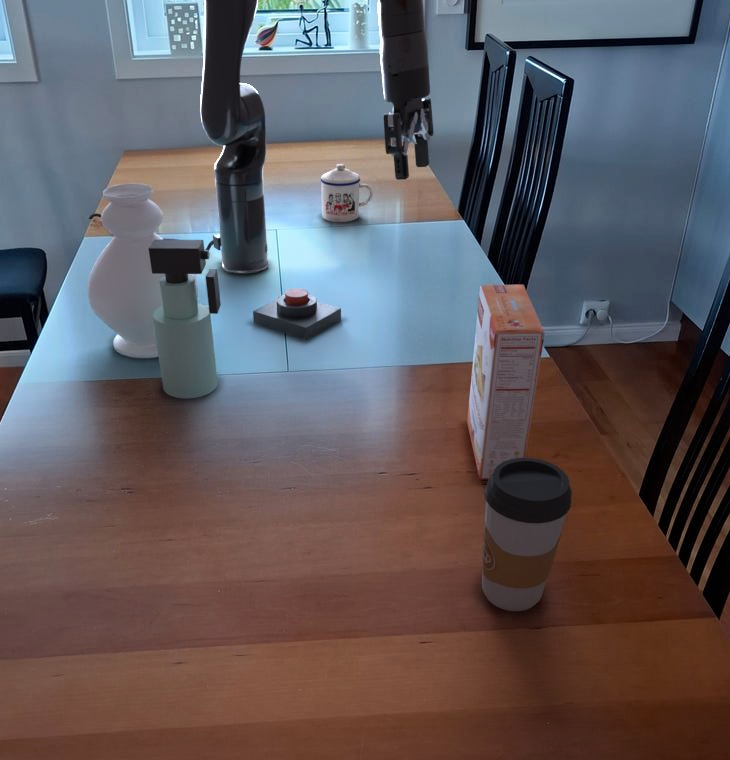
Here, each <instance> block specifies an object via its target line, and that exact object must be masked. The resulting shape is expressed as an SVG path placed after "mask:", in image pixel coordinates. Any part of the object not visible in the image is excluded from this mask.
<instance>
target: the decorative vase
mask: <svg viewBox="0 0 730 760" xmlns="http://www.w3.org/2000/svg"><path fill="white" fill-rule="evenodd" d="M102 196H103V199H104V200H106V201H108V202H109V203H108V204H107V205H106V206H105V207H104V209H103V210H102V212H101V213H100V214H101V218H100V221H101V224H102V226H103V228H104V229H105V230H106V231H108V232H109V233H110V234H112V236H113V237H112V239H111V240H110V241H109V242H108V244H107V245H106V246H105V247H104V248H103V250H102V251H101V252H100V254H99V256H97V259H96V260H95V262H94V264H93V266H92V269H91V271H90V273H89V276H88V278H87V279H88V280H87V285H86V286H87V287H86V290H87V291H86V292H87V293H86V294H87V300H88V302H89V306H90V308H91V311H93V313H94V314H95V315H96V316H97V317H98V319H99V320H101V321H102V322H103V323H104V324H105V325H106V326H107V327H108V328H109V329H111V330H112V331H113V332H114V333H116V335H115V336H114V338H113V341H112V343H113V348H114V350H115V351H116V352H117V353H118V354H120V355H123V356H125V357H129V358H135V359H151V358H152V359H153V358H159V356H158V349H157V343H156V336H155V330H154V323H153V316H152V315H153V312H154V311H155V310H156V309H157V308H159V307H161V306H163V303H162V296H161V288H160V279H161V278H162V277H164V276H165V274H152V269H151V262H150V256H149V249H148V248H149V247H150V245H151V244H152V242H153V241H154V240H164V239H163V238H162V236H160V235H159V234H157V233H156V231H157V230H158V229H159V227H160V226H161V225H162V222H163V220H164V214H163V211H162V209H161V208H160V206H159V205H158V204H156V203H155V202H154V201H152V200H151V199H150V198H151V197H153V196H154V188H153V186H151V185H149V184H145V183H137V182H135V183H132V182H131V183H122V184H120V183H119V184H115V185H112V186H109V187H106V188H104V190H103V191H102ZM190 275H192V276H194V278H195V285H196V294H197V298H198V297H199V285H198V281H197V277H196V274H190Z"/></svg>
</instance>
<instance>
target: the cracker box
mask: <svg viewBox="0 0 730 760" xmlns="http://www.w3.org/2000/svg"><path fill="white" fill-rule="evenodd" d="M475 326H476V327H475V338H474V346H473V357H472V366H471V367H472V368H471V377H470V379H471V380H470V388H469V389H470V390H469V399H468V409H467V420H466V424H467V429H468V432H469V436H470V441H471V446H472V451H473V455H474V460H475V461H474V462H475V465H476V469H477V475H478V478H479V480H488V479H489V477H490V476H491V475H492V473H493V472H494V469H495V468H496V467H497V466H498V465H499V464H501V463H502V462H504V461H507V460H510V459H515V458H527V449H528V443H529V437H530V430H531V423H532V417H533V411H534V405H535V398H536V391H537V384H538V380H539V379H538V377H539V373H540V367H541V360H542V355H543V354H542V353H543V346H544V342H545V330H544V327H543V326H542V323H541V320H540V319H539V316H538V314H537V312H536V310H535V307H534V305H533V302H532V301H531V299H530V296H529V294H528V292H527V290H526V287H525V285H524V284H482V285H479V295H478V303H477V315H476V325H475Z"/></svg>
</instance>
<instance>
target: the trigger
mask: <svg viewBox="0 0 730 760" xmlns="http://www.w3.org/2000/svg"><path fill="white" fill-rule="evenodd" d="M219 283H220V282H219V272H218V269H217V268H210V269H208V271H207V273H206V275H205V285H206V293H207V304H208V305H207V306H208V307H209V313H210V314H211V315H217V314H218V313H219V311H220V309H221V306H222V303H221V302H222V301H221V293H220V284H219Z"/></svg>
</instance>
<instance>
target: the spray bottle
mask: <svg viewBox="0 0 730 760" xmlns="http://www.w3.org/2000/svg"><path fill="white" fill-rule="evenodd" d="M148 249H149V256H150V262H151V269H152V274H165V276H164V277H162V278H161V279H160V288H161V296H162V303H163V306H161V307H159V308H157V309H156V310H155V311H154V312H153V315H152V316H153V323H154V330H155V336H156V343H157V349H158V356H159V357H158V362H159V368H160V376H161V381H162V389H163V392H165V393H166V394H167V395H169V396H170V397H172V398H177V399H189V400H190V399H197V398H201V397H203V396H204V397H205V396H207V395H209V394H211V393H212V392H214V391H215V390H216V389H217V387H218V385H219V384H218V383H219V382H218V381H219V380H218V373H217V364H216V353H215V344H214V333H213V325H212V316H211V315H212V314H210V313H209V306H208V305H206V304H205V303H201V302H199V301H198V297H197V294H196V285H195V278H194V276H192V275H190V274H195V275H202V273H203V271H204V270H205V267H206V266H207V262H206V260H209V259H210V250H209V251H208V250H205V243H204V239H179V240H154V241H153V242H152V244H151V245H150V247H149V248H148Z"/></svg>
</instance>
